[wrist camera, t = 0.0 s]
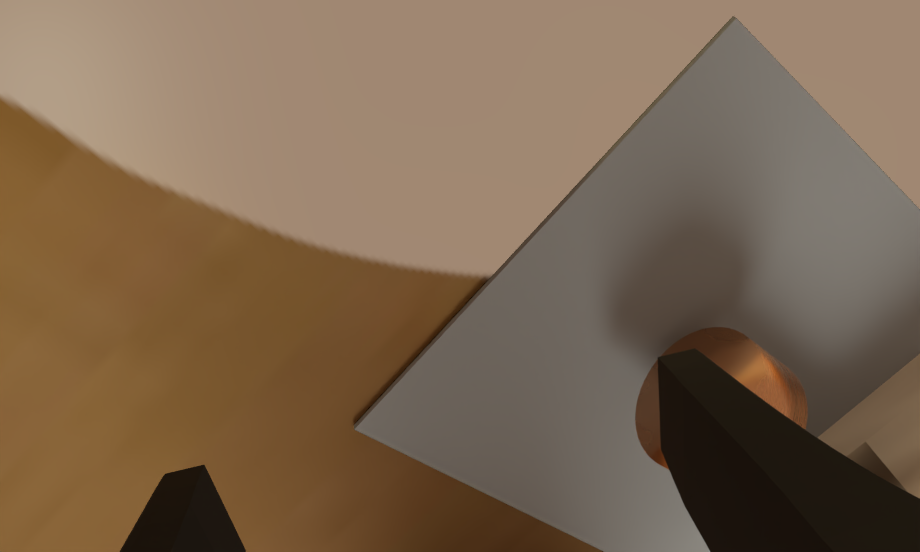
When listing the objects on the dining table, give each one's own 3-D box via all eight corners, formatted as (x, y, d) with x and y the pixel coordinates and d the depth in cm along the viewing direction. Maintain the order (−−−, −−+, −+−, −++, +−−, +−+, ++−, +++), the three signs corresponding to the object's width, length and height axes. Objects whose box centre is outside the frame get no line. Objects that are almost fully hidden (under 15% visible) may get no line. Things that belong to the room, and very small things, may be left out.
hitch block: (1004, 420, 30) (1117, 525, 26) (798, 576, 33) (869, 691, 29) (925, 349, 27) (1036, 453, 23) (709, 526, 31) (772, 646, 26)
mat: (1107, 406, 31) (1112, 410, 31) (788, 639, 36) (791, 643, 36) (733, 16, 20) (736, 18, 20) (353, 425, 25) (354, 429, 25)
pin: (891, 432, 29) (978, 530, 25) (796, 508, 30) (865, 612, 26) (719, 299, 24) (795, 395, 20) (616, 396, 25) (669, 502, 22)
